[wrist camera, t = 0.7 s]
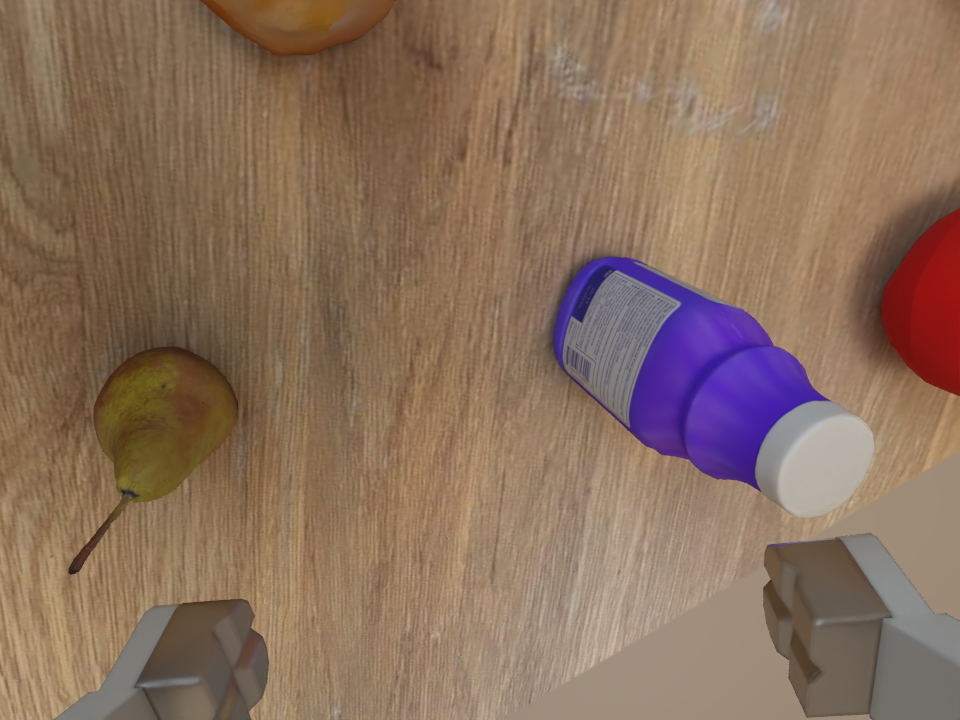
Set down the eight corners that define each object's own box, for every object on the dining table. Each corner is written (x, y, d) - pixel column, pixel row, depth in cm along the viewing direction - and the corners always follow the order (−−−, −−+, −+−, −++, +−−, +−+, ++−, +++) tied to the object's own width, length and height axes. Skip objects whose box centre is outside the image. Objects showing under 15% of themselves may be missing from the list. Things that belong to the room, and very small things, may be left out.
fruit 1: (229, 443, 35) (231, 600, 25) (100, 436, 33) (41, 604, 23) (243, 338, 34) (251, 458, 23) (108, 323, 32) (49, 448, 21)
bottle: (615, 382, 42) (844, 561, 26) (531, 365, 39) (727, 551, 24) (660, 264, 40) (935, 383, 24) (574, 239, 37) (817, 353, 22)
